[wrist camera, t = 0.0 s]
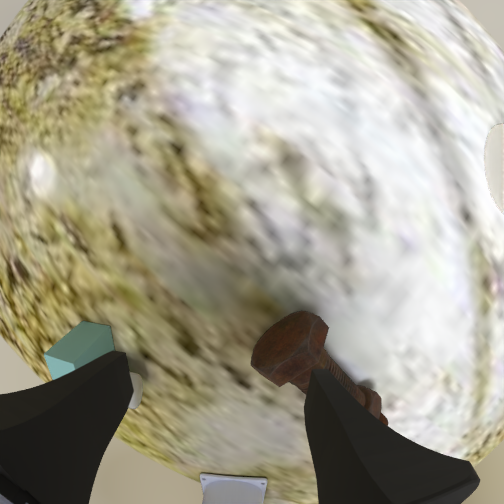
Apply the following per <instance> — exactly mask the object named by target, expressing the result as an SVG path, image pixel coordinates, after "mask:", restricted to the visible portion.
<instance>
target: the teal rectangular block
mask: <svg viewBox="0 0 504 504" xmlns="http://www.w3.org/2000/svg"><path fill="white" fill-rule="evenodd" d="M112 350H114V351H115V348H114V343H113V338H112V333H111V327H110V326H107V325H101V324H96V323H91V322H86V321H82V322H81V323H80V324H78V325H77V326H76V327H75V328H74V329H72V330H71V331H70V332H69V333H68V334H66V335H65V336H64V337H63V338H62V339H61V340H59V341H58V342H57V343H56V344H55V345H54V346H52V347H51V348H50V349H49V350H48V351H47V352H46V353H44V356H45V359H46V362H47V365H48V368H49V371H50V373H51V376H52V379H53V380H55V379H57V378H59V377H61V376H63V375H65V374H68V373H70V372H72V371H74V370H76V369H78V368H79V367H81V366H83V365H85V364H87V363H89V362H91V361H93V360H94V359H96V358H98V357H100V356H102V355H104V354H106V353H108V352H110V351H112ZM130 376H131V380H132V384H133V388H134V393H133V396H132V399H131V401H130V404H129V407H128V408H132V409H136V408H137V407H138V406H139V404H140V402H141V399H142V393H143V382H142V378H141V376H140V375H139V374H137V373H132V372H130Z"/></svg>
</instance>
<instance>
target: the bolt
mask: <svg viewBox="0 0 504 504" xmlns="http://www.w3.org/2000/svg"><path fill="white" fill-rule="evenodd" d="M328 329H329V327H328V326H327V325H326V323H325V322H324V321H323V320H322V319H321V317H319V316H317V315H315V314H313V313H310V312H306V311H299V312H296V313H293V314H290V315H288V316H286V317H284V318H283V319H282V320H280V321H279V322H278V323H276V324H274V325H273V326H272V327H271V328H270V329H269V330H268V331H267V332H266V333H265V334H264V335H263V336H262V337H261V339H260V340H259V341H258V342H257V344H256V345H255V347H254V349H253V353H252V357H251V366H252V367H253V368H254V369H255V370H257V371H258V372H259V373H260V374H261V375H263V376H264V377H266V378H267V379H268V380H270V381H271V382H273V383H274V384H276V385H277V386H279V387H281V386H282V385H284V384H286V383H287V382H290V383H291V384H293V385H295V386H297V387H298V388H299V389H300V390H301V391H302V392H303V393H305V394H306V395H307V391H308V386H309V381H310V376H311V371H312V369H328V370H329V371H330V372H331V373H332V374H333V375H334V376H335V377H336V379H337V380H338V381H339V382H340V383H341V384H342V385H343V386H344V387H345V389H346V390H347V391H348V392H349V393H350V394H351V395H352V396H353V397H354V398H355V399H356V400H357V401H358V402H359V403H360V404H361V405H362V406H363V407H364V408H366V409H367V410H368V411H369V412H370V413H371V414H373V415H374V416H375V417H376V418H377V419H379V420H380V421H381V422H382V423H384V424H385V425H387V426H388V420H387V418H386V417H385V416H384V415H383V414H382V413H381V397H380V396H379V395H378V393H377V392H375V391H373V390H371V389H369V388H366V387H364V386H360V385H357V386H356V385H355V384H354V383H353V382H352V380H350V378H349V377H348V376H347V375H346V374H345V373H344V372H343V371H342V369H340V367H338V365H337V364H336V363H335V362H334V361H333V359H331V357H330V356H329V355H328V354H327V351H326V350H325V349H324V348H323V347H324V343H325V340H326V336H327V333H328Z"/></svg>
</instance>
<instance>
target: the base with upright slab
mask: <svg viewBox="0 0 504 504" xmlns="http://www.w3.org/2000/svg"><path fill="white" fill-rule="evenodd" d="M484 163H485V174H486V179H487V184H488V188H489V191H490V194H491V197H492V199H493V201H494V202H495V204H496V206H497V208H498V209H499V210H500V211H501V212H502V213H503V214H504V123H503V124H497V125H495V126H494V127H493V128H492V129H491V130H490V132H489V134H488V136H487V140H486V144H485V153H484Z"/></svg>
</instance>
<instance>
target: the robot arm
mask: <svg viewBox="0 0 504 504" xmlns="http://www.w3.org/2000/svg"><path fill="white" fill-rule="evenodd" d="M133 393H134V388H133V384H132V380H131V376H130V372H129V367H128V362H127V357H126V353H124V352H118V351H114V350H112V351H110V352H108V353H106V354H104V355H102V356H100V357H98V358H96V359H94V360H93V361H91V362H89V363H87V364H85V365H83V366H81V367H79V368H78V369H76V370H74V371H72V372H70V373H68V374H65V375H63V376H61V377H59V378H57V379H55V380H52V381H50V382H47V383H45V384H42V385H39V386H36V387H33V388H30V389H26V390H21V391H17V392H13V393H8V394H0V504H89V500H90V495H91V491H92V487H93V484H94V480H95V477H96V474H97V470H98V468H99V465H100V462H101V459H102V457H103V455H104V452H105V450H106V448H107V446H108V444H109V442H110V441H111V439H112V437H113V435H114V433H115V432H116V430H117V428H118V426H119V424H120V423H121V421H122V419H123V417H124V415H125V413H126V411H127V409H128V407H129V404H130V401H131V399H132V396H133ZM304 414H305V426H306V432H307V437H308V441H309V446H310V450H311V455H312V459H313V464H314V468H315V473H316V479H317V488H318V501H319V504H461V503H462V502H463V501H464V500H465V499H466V498H468V497H469V496H470V495H471V494H472V493H473V492H474V491H475V490H476V488H477V487H478V485H479V483H480V479H479V477H478V475H477V473H476V472H475V470H474V468H473V466H472V465H471V463H470V462H469V461H465V460H461V459H457V458H454V457H450V456H446V455H443V454H440V453H438V452H435V451H433V450H430V449H428V448H425V447H423V446H421V445H419V444H417V443H415V442H413V441H411V440H409V439H407V438H405V437H404V436H402V435H400V434H399V433H397V432H395V431H394V430H393V429H391V428H390V427H388V426H387V425H385V424H384V423H382V422H381V421H380V420H379V419H377V418H376V417H375V416H374V415H373V414H371V413H370V412H369V411H368V410H367V409H366V408H364V407H363V406H362V405H361V404H360V403H359V402H358V401H357V400H356V399H355V398H354V397H353V396H352V395H351V394H350V393H349V392H348V391H347V390H346V389H345V387H344V386H343V385H342V384H341V383H340V382H339V381H338V380H337V379H336V377H335V376H334V375H333V374H332V373H331V372H330V371H329V370H328V369H312V371H311V376H310V381H309V386H308V391H307V395H306V400H305V405H304ZM200 480H201V485H202V490H203V495H204V497H203V503H202V504H263V501H264V496H265V491H266V486H267V479H266V478H251V477H234V476H222V475H213V474H205V473H202V474H200Z"/></svg>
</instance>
